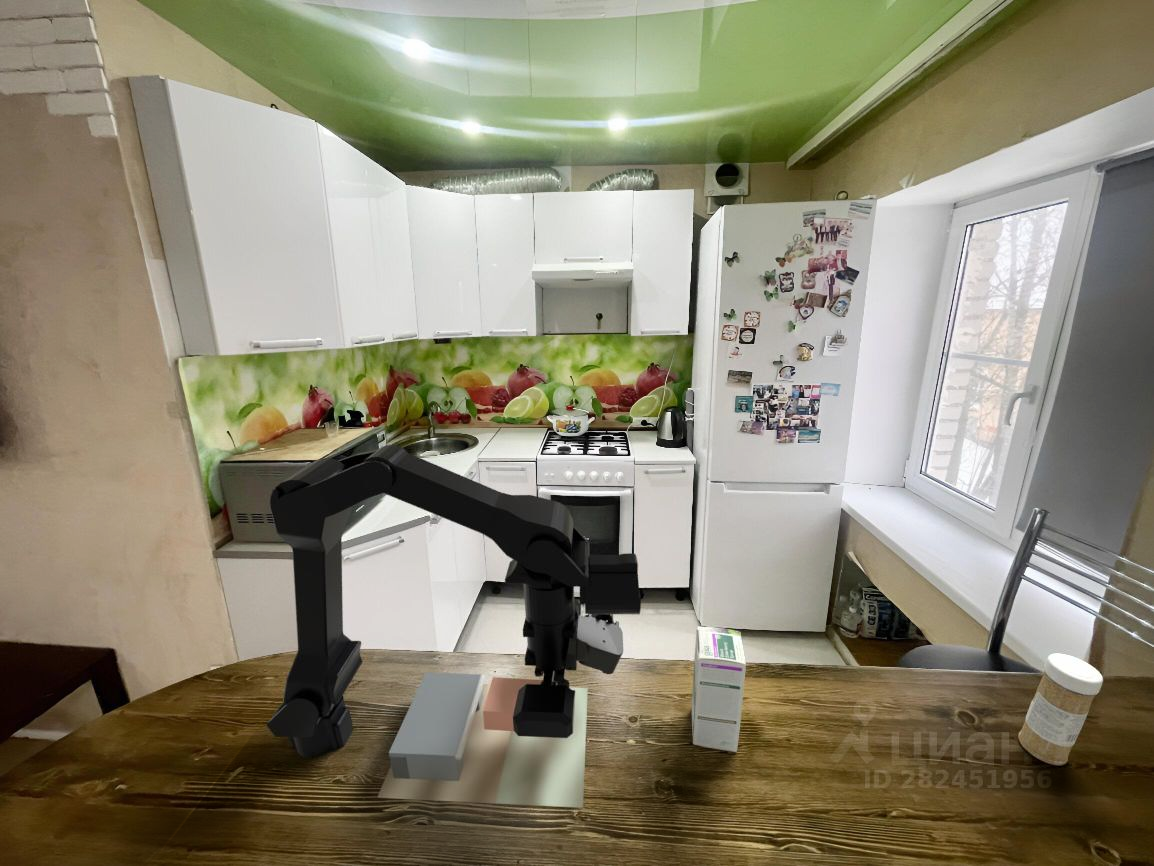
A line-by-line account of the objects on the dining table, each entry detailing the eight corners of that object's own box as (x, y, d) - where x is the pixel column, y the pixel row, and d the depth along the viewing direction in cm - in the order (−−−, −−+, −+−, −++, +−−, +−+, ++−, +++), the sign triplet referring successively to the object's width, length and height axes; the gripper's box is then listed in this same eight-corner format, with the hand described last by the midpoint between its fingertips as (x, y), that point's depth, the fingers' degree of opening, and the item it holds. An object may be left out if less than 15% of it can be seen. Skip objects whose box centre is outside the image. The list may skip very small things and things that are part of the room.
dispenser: (393, 778, 55) (388, 752, 53) (429, 695, 66) (425, 672, 64) (464, 781, 54) (460, 755, 53) (488, 697, 65) (485, 674, 64)
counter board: (378, 803, 53) (377, 797, 53) (428, 687, 68) (427, 682, 68) (583, 813, 51) (582, 807, 51) (587, 693, 67) (587, 687, 66)
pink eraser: (484, 729, 56) (483, 711, 55) (493, 694, 61) (492, 677, 60) (564, 734, 55) (565, 716, 54) (567, 699, 60) (568, 681, 59)
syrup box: (738, 754, 58) (749, 664, 53) (690, 745, 59) (697, 657, 54) (732, 714, 63) (742, 629, 58) (689, 707, 64) (695, 623, 60)
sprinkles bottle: (1040, 731, 60) (1073, 650, 56) (1078, 766, 55) (1117, 681, 51) (1006, 733, 60) (1037, 652, 55) (1041, 768, 55) (1077, 683, 51)
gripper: (622, 677, 43) (620, 791, 48) (617, 562, 61) (616, 654, 66) (507, 673, 44) (517, 786, 49) (535, 561, 62) (540, 652, 66)
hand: (554, 709), depth 57 cm, fingers closed on pink eraser, 5 cm apart
